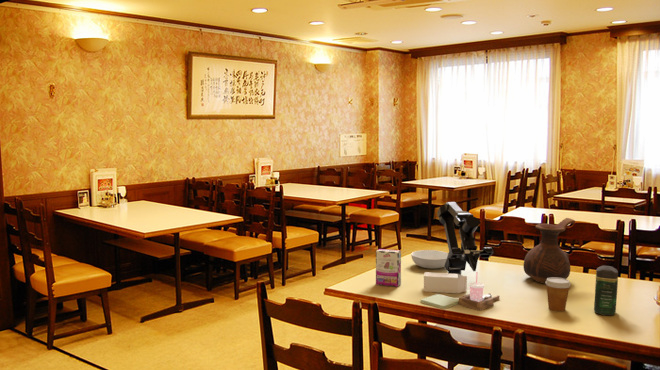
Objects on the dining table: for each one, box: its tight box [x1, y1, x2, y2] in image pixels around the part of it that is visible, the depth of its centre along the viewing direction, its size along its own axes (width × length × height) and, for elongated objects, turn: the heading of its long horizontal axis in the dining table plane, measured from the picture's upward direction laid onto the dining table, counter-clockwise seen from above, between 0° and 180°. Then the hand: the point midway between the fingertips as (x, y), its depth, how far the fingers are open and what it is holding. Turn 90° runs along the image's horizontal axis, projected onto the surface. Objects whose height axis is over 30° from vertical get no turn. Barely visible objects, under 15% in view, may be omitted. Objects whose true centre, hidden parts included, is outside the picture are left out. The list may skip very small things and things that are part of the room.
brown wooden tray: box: [458, 293, 500, 311], centre depth 234 cm, size 19×10×3 cm, turn 132°
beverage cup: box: [468, 271, 485, 302], centre depth 230 cm, size 6×6×14 cm
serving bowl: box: [410, 249, 449, 270], centre depth 294 cm, size 21×21×7 cm
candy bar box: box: [375, 248, 402, 288], centre depth 260 cm, size 11×5×16 cm, turn 68°
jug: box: [523, 217, 576, 284], centre depth 267 cm, size 22×22×30 cm
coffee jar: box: [593, 264, 619, 316], centre depth 221 cm, size 10×8×19 cm
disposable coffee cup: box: [544, 277, 571, 312], centre depth 225 cm, size 10×10×12 cm
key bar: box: [482, 293, 493, 301], centre depth 235 cm, size 6×3×2 cm, turn 133°
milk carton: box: [423, 271, 468, 294], centre depth 251 cm, size 7×7×19 cm
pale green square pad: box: [420, 293, 459, 310], centre depth 234 cm, size 12×12×1 cm
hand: (474, 270), depth 238 cm, fingers closed
